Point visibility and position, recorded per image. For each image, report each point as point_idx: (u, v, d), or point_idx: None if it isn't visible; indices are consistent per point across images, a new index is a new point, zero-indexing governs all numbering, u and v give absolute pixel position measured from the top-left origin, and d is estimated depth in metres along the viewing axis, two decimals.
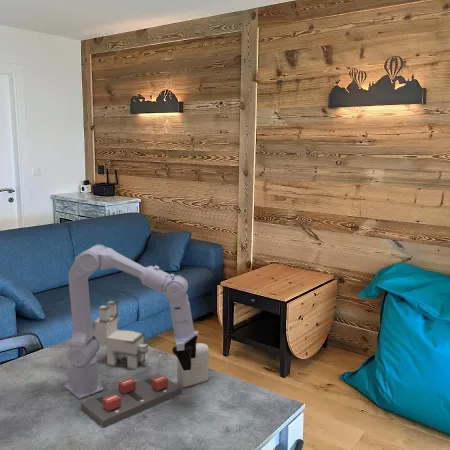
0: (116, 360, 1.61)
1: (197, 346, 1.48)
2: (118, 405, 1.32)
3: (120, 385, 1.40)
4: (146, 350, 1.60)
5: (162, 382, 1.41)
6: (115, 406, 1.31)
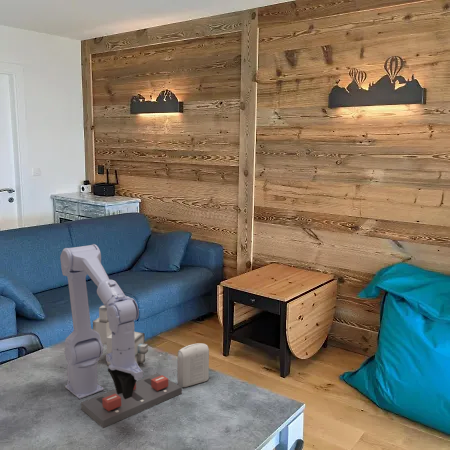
0: None
1: (197, 346, 1.48)
2: (118, 405, 1.32)
3: None
4: (146, 350, 1.60)
5: (162, 382, 1.41)
6: (115, 406, 1.31)
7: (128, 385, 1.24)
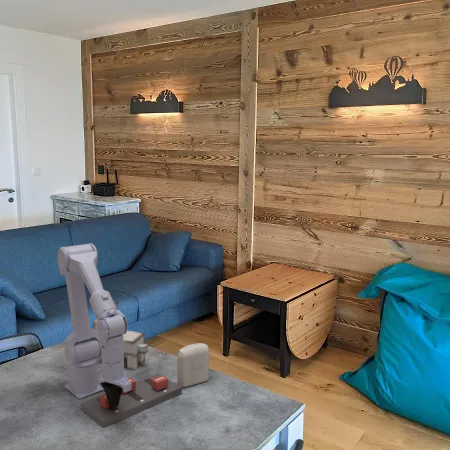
0: None
1: (197, 346, 1.48)
2: None
3: None
4: (146, 350, 1.60)
5: (162, 382, 1.41)
6: None
7: (115, 395, 1.30)
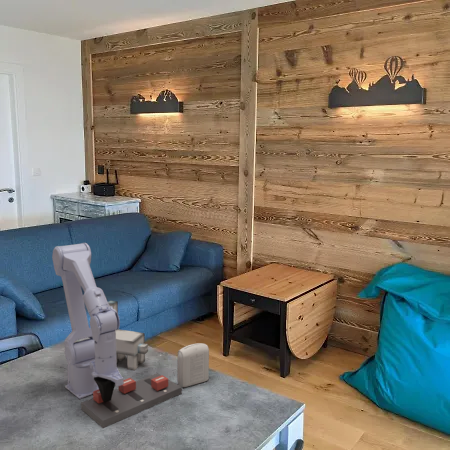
0: None
1: (197, 346, 1.48)
2: None
3: (120, 385, 1.40)
4: (146, 350, 1.60)
5: (162, 382, 1.41)
6: None
7: (107, 389, 1.33)
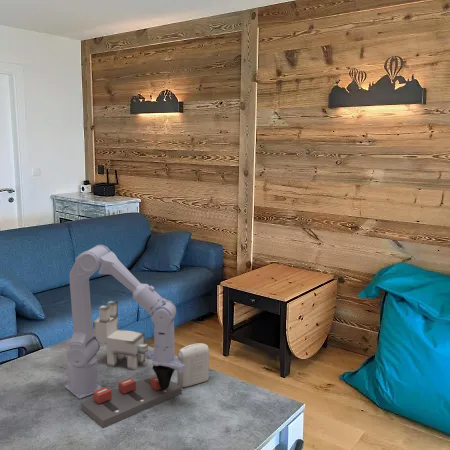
0: (116, 360, 1.61)
1: (197, 346, 1.48)
2: (108, 398, 1.35)
3: (120, 385, 1.40)
4: (146, 350, 1.60)
5: None
6: (105, 399, 1.34)
7: (166, 377, 1.40)
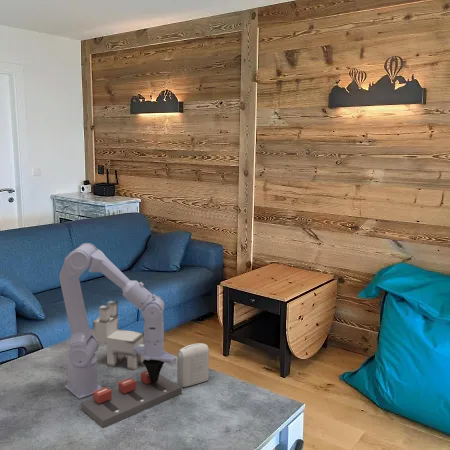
0: (116, 360, 1.61)
1: (197, 346, 1.48)
2: (108, 398, 1.35)
3: (120, 385, 1.40)
4: None
5: None
6: (105, 399, 1.34)
7: (156, 371, 1.44)
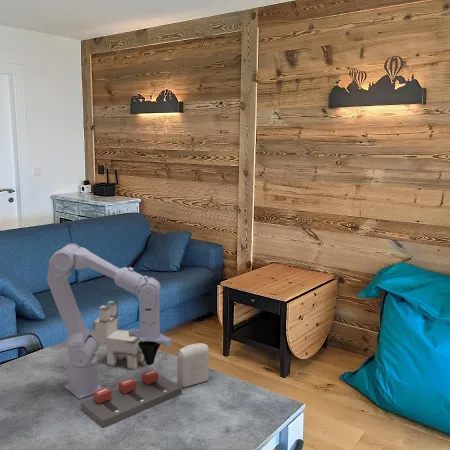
0: (116, 360, 1.61)
1: (197, 346, 1.48)
2: (108, 398, 1.35)
3: (120, 385, 1.40)
4: None
5: (152, 376, 1.45)
6: (105, 399, 1.34)
7: (151, 353, 1.43)
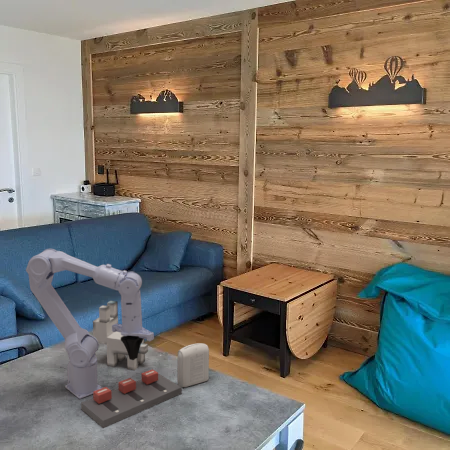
0: (116, 360, 1.61)
1: (197, 346, 1.48)
2: (108, 398, 1.35)
3: (120, 385, 1.40)
4: (146, 350, 1.60)
5: (152, 376, 1.45)
6: (105, 399, 1.34)
7: (135, 347, 1.42)
